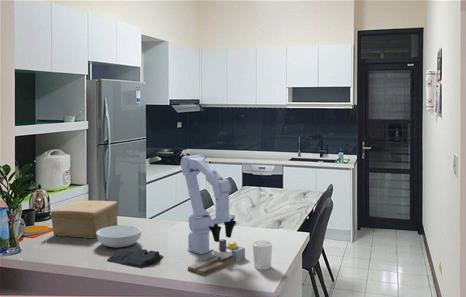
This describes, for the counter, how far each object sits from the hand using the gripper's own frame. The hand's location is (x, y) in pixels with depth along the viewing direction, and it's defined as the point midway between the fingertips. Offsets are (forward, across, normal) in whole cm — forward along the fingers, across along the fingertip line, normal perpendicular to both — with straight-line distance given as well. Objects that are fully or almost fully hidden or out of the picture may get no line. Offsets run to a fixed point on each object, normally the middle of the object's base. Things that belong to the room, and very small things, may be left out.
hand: (222, 239), depth 201 cm
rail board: (+10, -6, 0) cm, 12 cm away
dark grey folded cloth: (+11, -22, +31) cm, 40 cm away
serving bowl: (+10, -14, +54) cm, 57 cm away
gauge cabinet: (+10, +6, 0) cm, 12 cm away
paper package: (+10, -10, +88) cm, 89 cm away
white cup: (+10, +6, -17) cm, 21 cm away
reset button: (+7, +6, 0) cm, 10 cm away
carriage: (+8, 0, 0) cm, 8 cm away
